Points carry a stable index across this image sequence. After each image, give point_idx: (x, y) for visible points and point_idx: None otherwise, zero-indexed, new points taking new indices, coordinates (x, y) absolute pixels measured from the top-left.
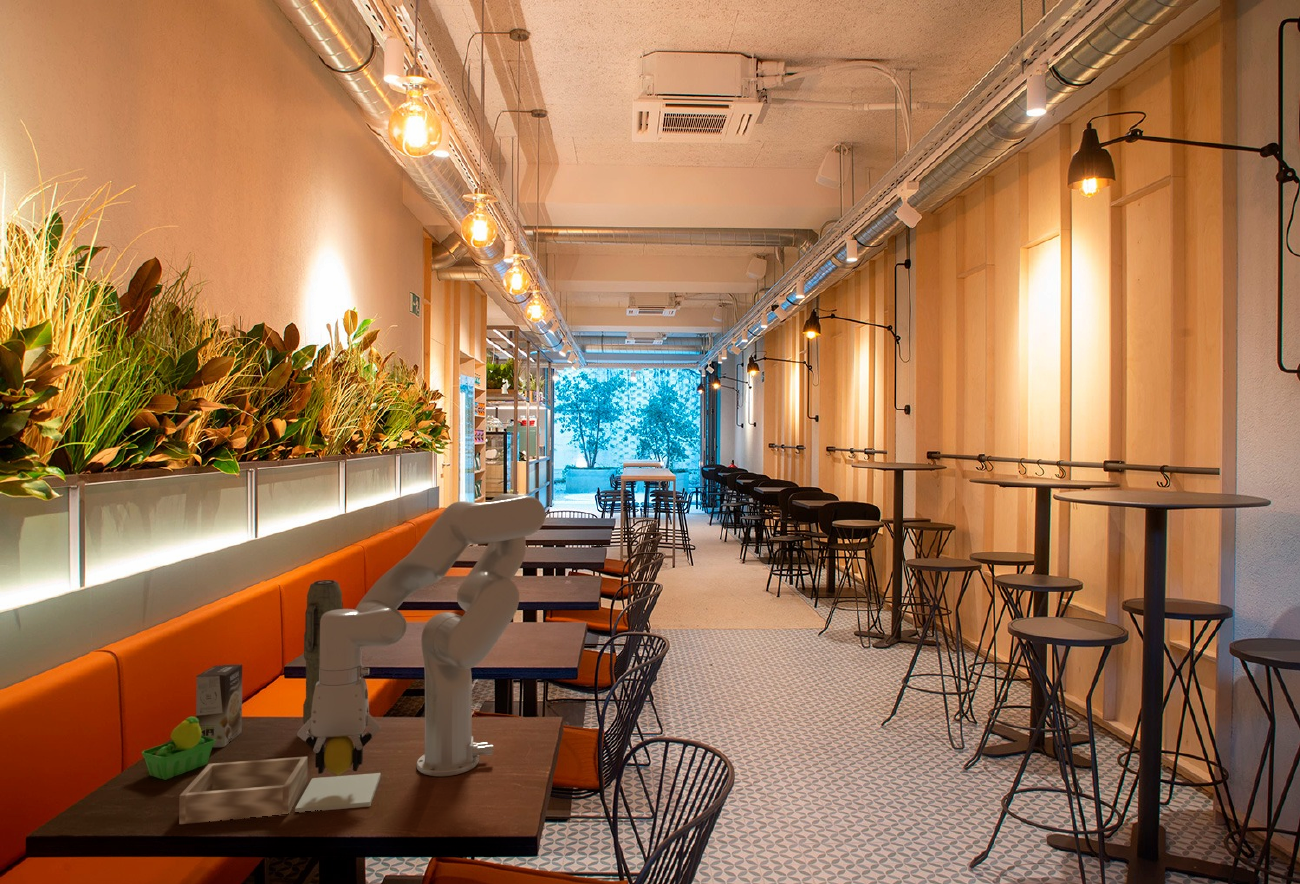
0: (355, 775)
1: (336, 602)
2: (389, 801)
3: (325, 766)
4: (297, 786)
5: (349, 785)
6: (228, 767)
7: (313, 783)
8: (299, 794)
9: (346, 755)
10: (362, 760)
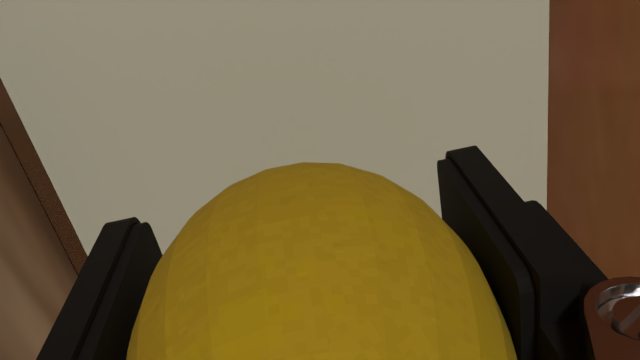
0: None
1: None
2: (634, 224)
3: (149, 231)
4: (13, 269)
5: (347, 91)
6: None
7: (29, 58)
8: (23, 178)
9: None
10: (535, 205)
